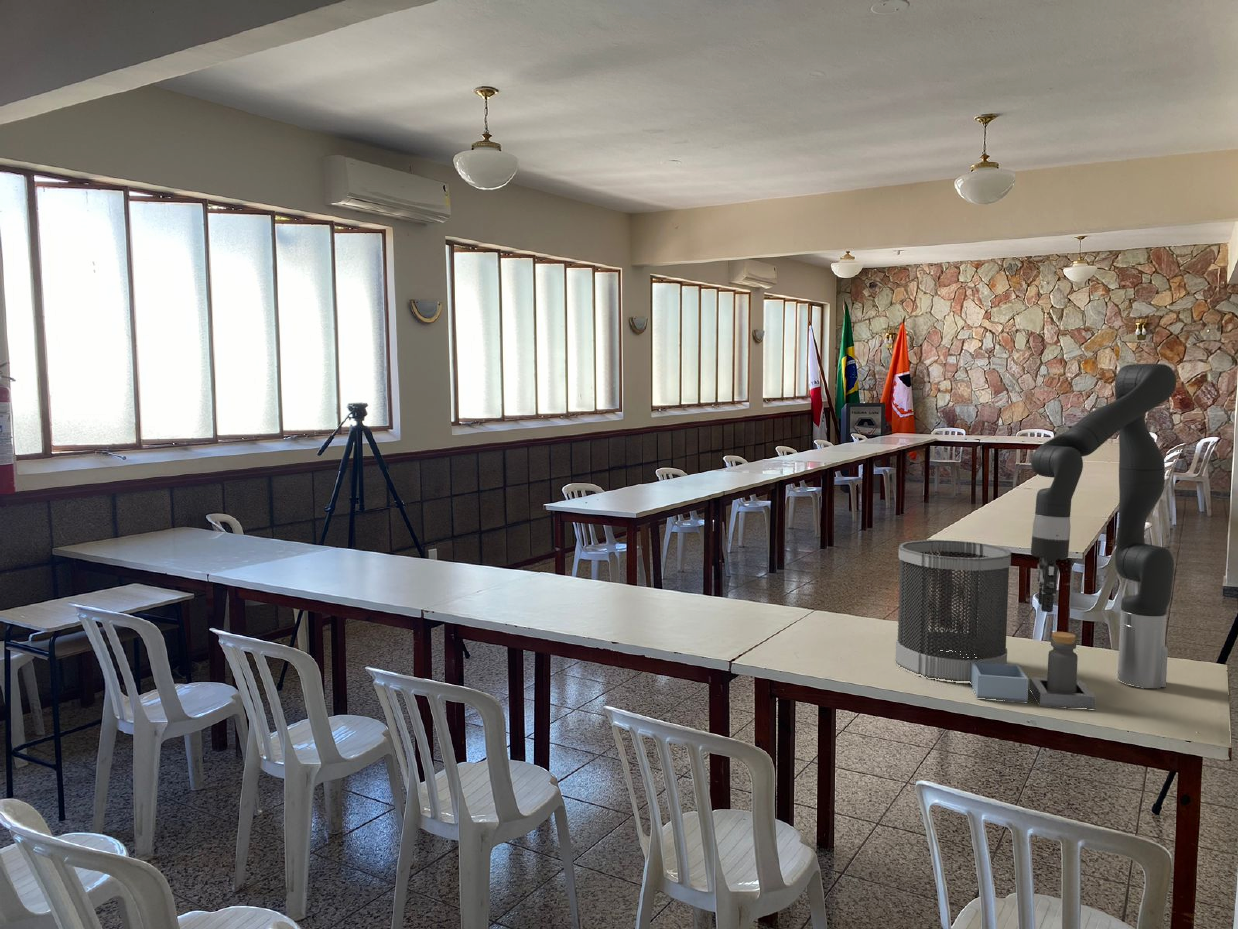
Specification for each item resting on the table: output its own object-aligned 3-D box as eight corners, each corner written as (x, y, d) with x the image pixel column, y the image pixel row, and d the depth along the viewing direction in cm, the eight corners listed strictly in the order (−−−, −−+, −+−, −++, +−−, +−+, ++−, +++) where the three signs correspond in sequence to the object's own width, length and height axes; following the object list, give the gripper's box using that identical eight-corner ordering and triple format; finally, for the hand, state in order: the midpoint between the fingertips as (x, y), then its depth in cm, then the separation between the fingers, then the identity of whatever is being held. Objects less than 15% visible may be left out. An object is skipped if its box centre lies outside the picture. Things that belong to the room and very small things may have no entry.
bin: (1017, 688, 205) (1018, 665, 205) (1027, 703, 195) (1028, 679, 194) (970, 684, 207) (971, 661, 207) (977, 699, 197) (978, 675, 197)
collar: (1081, 693, 201) (1081, 681, 201) (1094, 710, 191) (1095, 697, 190) (1029, 689, 204) (1029, 677, 204) (1039, 706, 193) (1040, 692, 193)
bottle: (1066, 695, 200) (1069, 630, 199) (1081, 704, 194) (1084, 637, 193) (1041, 695, 200) (1044, 630, 199) (1055, 704, 194) (1057, 638, 193)
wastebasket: (954, 648, 237) (958, 538, 235) (1028, 676, 214) (1033, 554, 211) (876, 658, 228) (879, 543, 226) (945, 688, 205) (949, 561, 202)
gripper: (1073, 541, 187) (1067, 616, 188) (1066, 533, 200) (1060, 604, 201) (1034, 538, 190) (1028, 612, 191) (1029, 530, 203) (1024, 600, 204)
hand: (1045, 608), depth 196 cm, fingers open, 8 cm apart
